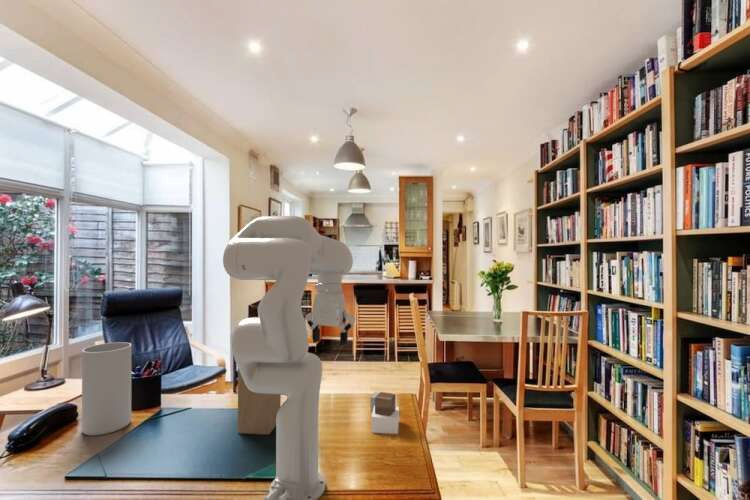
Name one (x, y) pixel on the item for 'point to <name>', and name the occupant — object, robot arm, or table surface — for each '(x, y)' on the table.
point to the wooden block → (256, 410)
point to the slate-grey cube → (373, 400)
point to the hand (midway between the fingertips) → (329, 343)
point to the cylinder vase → (106, 388)
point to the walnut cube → (385, 403)
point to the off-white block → (385, 422)
